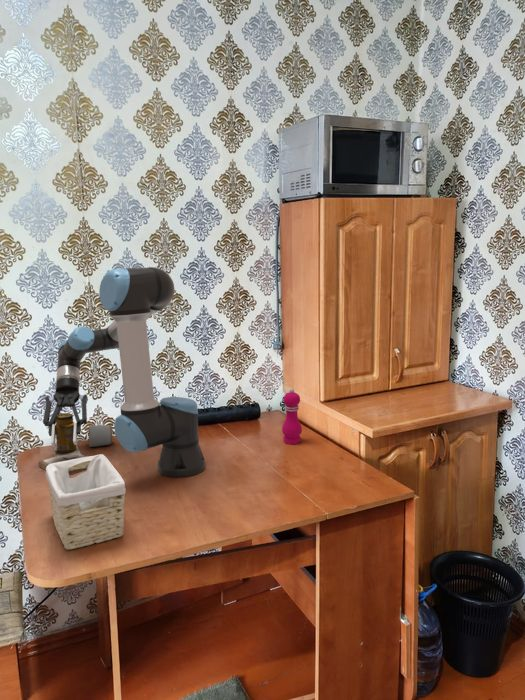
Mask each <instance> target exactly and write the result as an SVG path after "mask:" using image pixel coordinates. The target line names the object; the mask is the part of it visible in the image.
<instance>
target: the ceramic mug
mask: <svg viewBox="0 0 525 700" xmlns="http://www.w3.org/2000/svg"><path fill="white" fill-rule="evenodd" d="M88 438H89V439H88V440H89V442H88V443H89V447H90V448H94V447H102V446H110V445H111V444H113V440H114V439H113V426H112V425H109V424H101V425H97V424H95V425H89V426H88Z"/></svg>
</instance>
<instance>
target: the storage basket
mask: <svg viewBox="0 0 525 700" xmlns="http://www.w3.org/2000/svg"><path fill="white" fill-rule="evenodd" d="M83 468H87V469H86V470H84V471H83V472H81V473H79V474H78V475H76V476H74V477H70V475H69V473H68V471H69V470H71V471H73V470H76V469H83ZM45 477H46V480H47V483H48V488H49V489H48V492H49V498H50V504H51V506H50V507H51V513H52V518H53V524H54V526H55V529H56V531H57V533H58V536H59V538H60V540H61V542H62V545H63V546H64V547H63V548H64V549H66V550H73V549H77V548H79V549H80V548H83V547H85V546H86V547H87V546H90V545H94V544H95V543H96V544H100V543H103V542H105V541H110V540H111V541H112V539H113V540H114V539H117V538H120V537H122V536H123V535H124V525H125V524H124V522H125V521H124V520H125V517H124V514H125V511H124V510H125V506H124V505H125V497H126V496H125V494H126V491H127V490H126V483H125V480H124V479H123V477H122V476H121V474H120V473H119V472H118V470H117V469H116V468H115V467H114V466H113V464H112V463H111V461H110V460H109V459H108V457H107V456H105V454H103V453H101V454H96V455H91V456H88V457H83V458H78V459H72V460H67V461H62V462H57V463H52V464H49V465H48V466H47V467H46V470H45Z"/></svg>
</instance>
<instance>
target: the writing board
mask: <svg viewBox="0 0 525 700" xmlns="http://www.w3.org/2000/svg"><path fill="white" fill-rule="evenodd" d="M83 457H89V456H88V455H85V454H83V453H82V452H80V453H78V454H72V455H66V456H56V455H55V456H53V457H50V458H45V459H42V460H40V461H38V468H40V467H41V469H42V470H44V471H46V467H47V466H48V465H49V464H52V463H57V462H62V461H67V460H72V459H78V458H83ZM82 471H83V472H84V471H87V468H83V469H76V470H73V471H71V470H69V471H68V473H69V476H71V475H74V474H77V473H80V472H82Z"/></svg>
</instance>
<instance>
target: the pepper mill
mask: <svg viewBox="0 0 525 700" xmlns="http://www.w3.org/2000/svg"><path fill="white" fill-rule="evenodd" d="M300 402H301V397H300V395H299V394H298V393H297V392H295V388H293V387H292V388H291V387H290V388H289V391H288V392H286V393H285V395H284V396H283V403H284V410H285V412H286V416H285V420H284V421H283V425H282V428H281V432H282V434H283V435H284V436H283V438H282V439H283V443H284V444H287V445H297V444H301V441H302V440H301V439H302V437H301V434H302V432H303V427H302V424H301V423H300V420H299V418H298V411H299V410H300V408H299V404H301V403H300Z"/></svg>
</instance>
